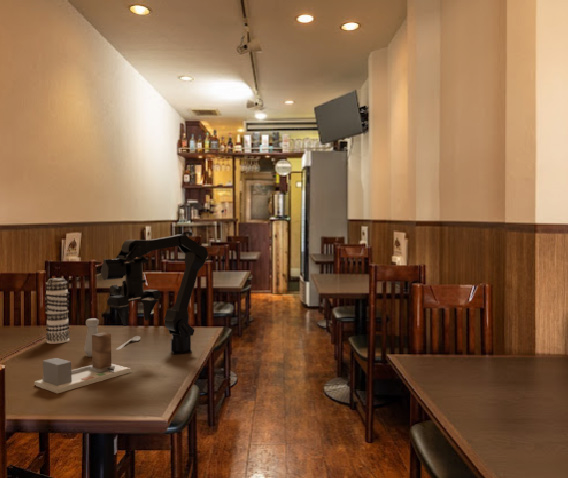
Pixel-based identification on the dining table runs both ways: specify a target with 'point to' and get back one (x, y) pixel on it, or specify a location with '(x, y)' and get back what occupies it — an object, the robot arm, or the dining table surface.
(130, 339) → the spoon
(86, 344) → the salt shaker
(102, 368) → the gauge slider
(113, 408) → the dining table surface
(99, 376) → the gauge board
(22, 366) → the dining table surface
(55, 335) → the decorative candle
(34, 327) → the dining table surface
